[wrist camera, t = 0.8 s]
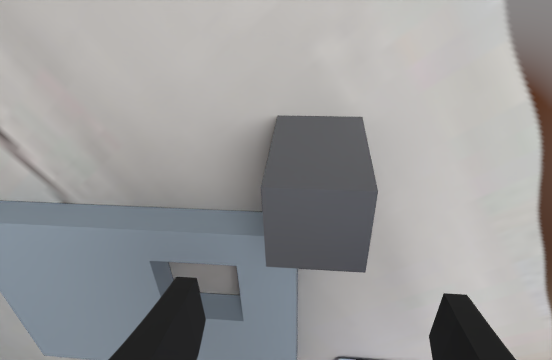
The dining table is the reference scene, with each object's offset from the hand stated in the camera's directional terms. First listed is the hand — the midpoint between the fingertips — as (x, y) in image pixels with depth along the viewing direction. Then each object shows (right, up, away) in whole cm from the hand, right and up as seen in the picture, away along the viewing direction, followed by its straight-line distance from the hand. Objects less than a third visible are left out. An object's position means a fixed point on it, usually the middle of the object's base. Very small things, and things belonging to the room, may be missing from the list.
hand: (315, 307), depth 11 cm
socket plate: (-10, -4, +15) cm, 18 cm away
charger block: (+1, +5, +8) cm, 9 cm away
